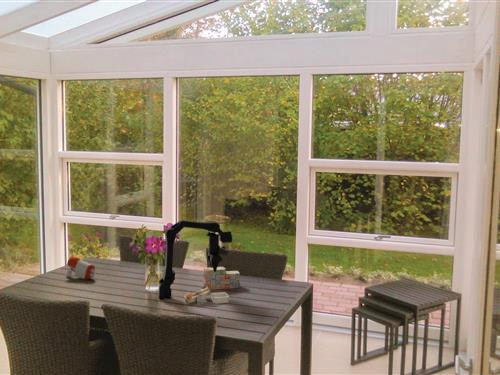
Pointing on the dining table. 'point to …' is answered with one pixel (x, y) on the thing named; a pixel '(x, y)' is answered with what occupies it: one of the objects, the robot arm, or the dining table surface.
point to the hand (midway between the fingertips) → (213, 269)
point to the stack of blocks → (221, 278)
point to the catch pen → (220, 297)
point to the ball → (189, 296)
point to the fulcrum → (199, 301)
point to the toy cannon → (80, 268)
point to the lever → (198, 294)
